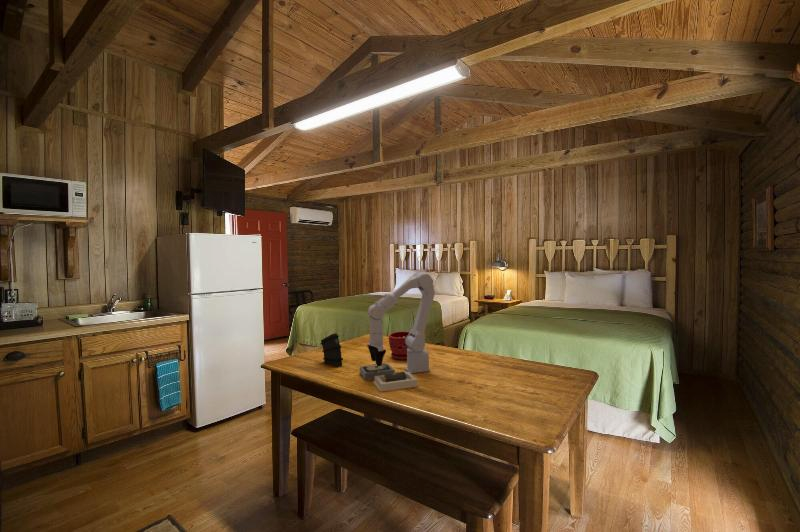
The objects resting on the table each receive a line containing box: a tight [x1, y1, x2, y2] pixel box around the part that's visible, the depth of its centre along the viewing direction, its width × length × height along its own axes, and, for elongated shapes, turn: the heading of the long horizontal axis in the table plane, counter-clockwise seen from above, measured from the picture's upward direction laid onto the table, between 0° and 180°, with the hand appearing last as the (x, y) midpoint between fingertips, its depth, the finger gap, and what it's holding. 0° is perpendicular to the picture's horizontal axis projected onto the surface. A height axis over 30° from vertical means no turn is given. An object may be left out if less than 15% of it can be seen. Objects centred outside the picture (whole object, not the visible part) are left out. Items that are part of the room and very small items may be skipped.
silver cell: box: [366, 362, 387, 373], centre depth 168 cm, size 9×4×4 cm
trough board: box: [372, 371, 419, 392], centre depth 156 cm, size 16×10×3 cm, turn 109°
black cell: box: [384, 371, 406, 382], centre depth 156 cm, size 9×4×4 cm, turn 109°
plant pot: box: [388, 331, 410, 361], centre depth 194 cm, size 13×13×12 cm
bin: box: [359, 363, 396, 381], centre depth 168 cm, size 13×10×3 cm
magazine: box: [319, 332, 344, 368], centre depth 185 cm, size 4×13×15 cm, turn 45°
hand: (376, 363), depth 168 cm, fingers open, 7 cm apart
